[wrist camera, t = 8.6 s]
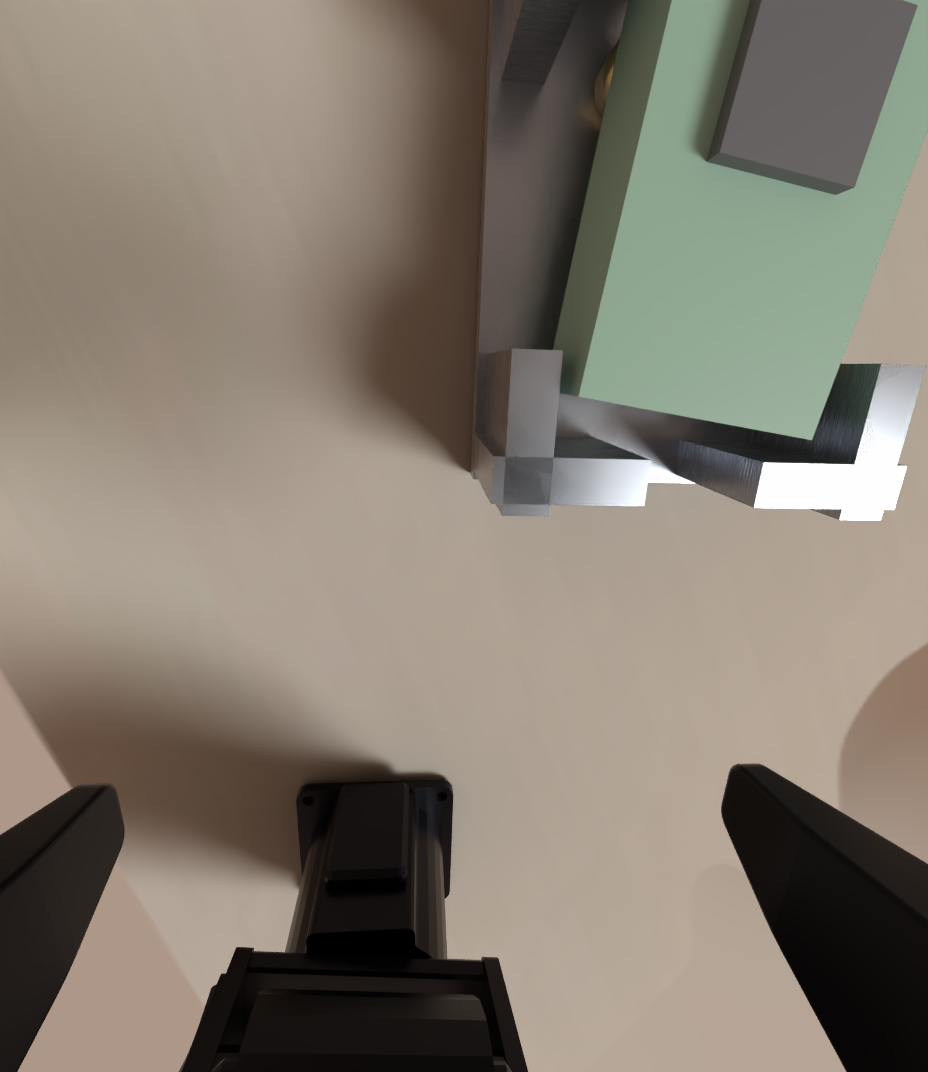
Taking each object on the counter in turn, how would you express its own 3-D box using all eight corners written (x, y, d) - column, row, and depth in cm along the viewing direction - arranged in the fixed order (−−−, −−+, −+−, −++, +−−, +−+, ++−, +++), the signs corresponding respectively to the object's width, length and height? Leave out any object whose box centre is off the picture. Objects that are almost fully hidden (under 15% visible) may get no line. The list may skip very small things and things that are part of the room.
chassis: (763, 479, 19) (890, 520, 14) (470, 473, 18) (490, 515, 13) (876, -41, 15) (1126, -265, 9) (492, -85, 14) (537, -360, 9)
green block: (730, 425, 16) (826, 443, 12) (543, 390, 15) (584, 397, 11) (859, 28, 13) (1038, -110, 9) (636, -40, 12) (733, -221, 9)
